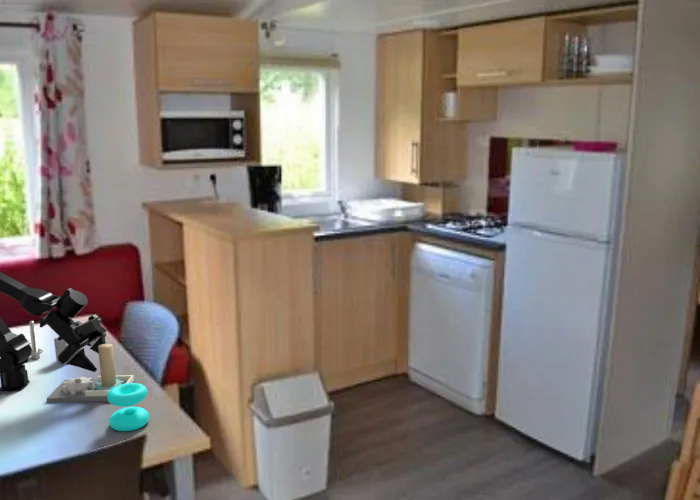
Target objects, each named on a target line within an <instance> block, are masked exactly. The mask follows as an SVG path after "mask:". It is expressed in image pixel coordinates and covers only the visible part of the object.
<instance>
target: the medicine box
mask: <svg viewBox="0 0 700 500" xmlns="http://www.w3.org/2000/svg"><path fill="white" fill-rule="evenodd" d="M58 337H59V336H57V337H55V338H54V339H53V342H54V351H55V360H56V363H57V364H61V363H60V362H59V361H58V355H59V354H60V353H61V352H62V351H63V350H64V349H65V348H66V347H67V346H68V344H67V343H66V342H65V341H64V340H61V341H59V340H58V339H57V338H58ZM80 350H81V349H80ZM68 362H69V361H68ZM68 362H67V363H68ZM67 363H65V364H64V365H66V364H67Z"/></svg>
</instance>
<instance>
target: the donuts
mask: <svg viewBox="0 0 700 500" xmlns="http://www.w3.org/2000/svg"><path fill="white" fill-rule="evenodd" d="M147 395H148V388H147V387H146V386H145V385H143V384H142V383H137V382H135V383H125V384H121V385H118V386H115V387H113V388H112V389H111V390H110V391H109V392H108V394H107V399H108V401H107V402H109V403H110V405H113V406H115V407H122V408H120V409H118V410H116V411H115V412H113V413H112V414H111V416H110V417H109V426H110V427H111V428H112V429H113V430H116V431H119V432H130V431H131V432H132V431H135V430H138V429H140V428H142V427H144V426H145V425H146V424H148V422H149V421H150V413H149V411H147V409H146V408H143V407H140V406H135V405H138V404H140V403H141V402H143V401H144V400H145V399H146V397H147Z"/></svg>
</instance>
